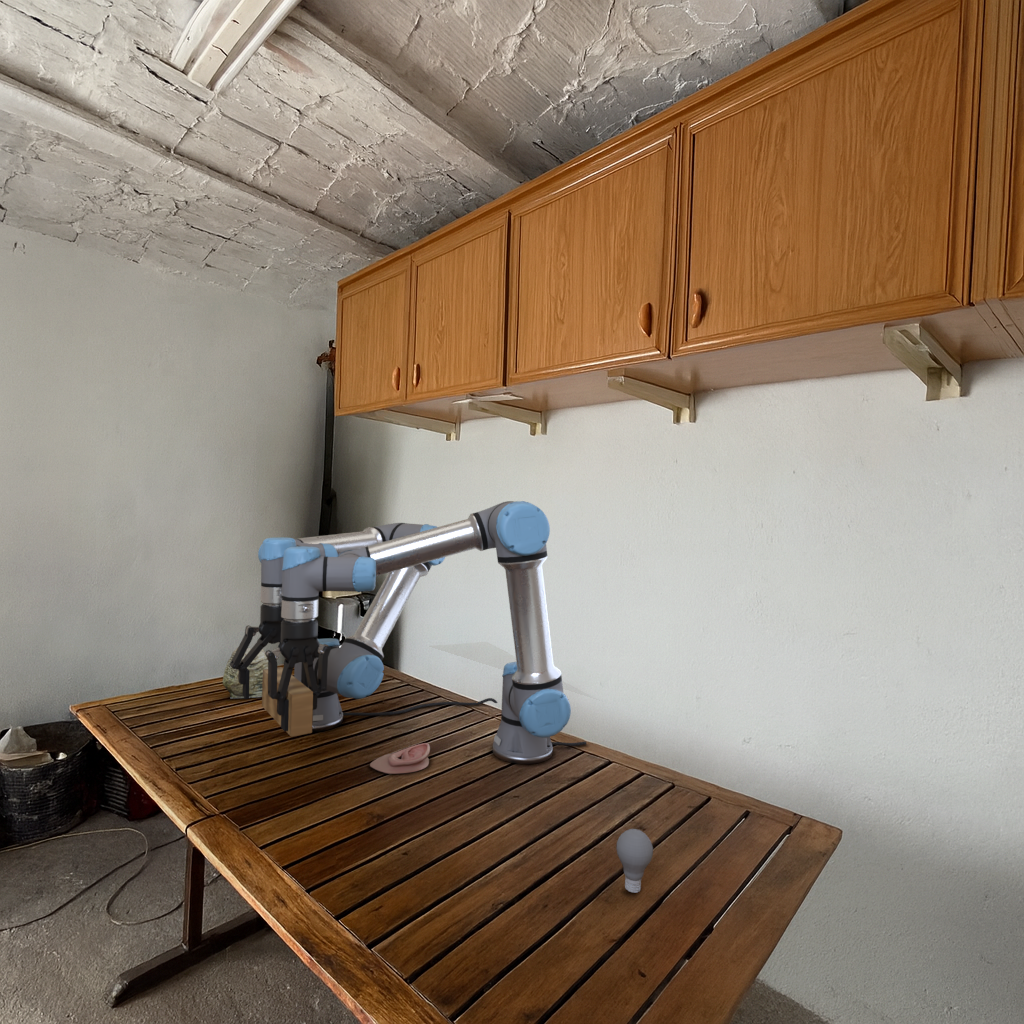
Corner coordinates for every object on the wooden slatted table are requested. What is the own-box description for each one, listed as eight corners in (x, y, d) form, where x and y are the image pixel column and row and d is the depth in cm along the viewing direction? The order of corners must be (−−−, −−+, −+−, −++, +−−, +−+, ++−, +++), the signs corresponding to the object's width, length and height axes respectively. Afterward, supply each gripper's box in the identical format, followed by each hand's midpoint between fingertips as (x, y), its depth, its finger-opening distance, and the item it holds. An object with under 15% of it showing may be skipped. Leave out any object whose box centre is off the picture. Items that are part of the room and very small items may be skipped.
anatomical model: (364, 753, 147) (384, 735, 158) (364, 770, 147) (383, 751, 158) (419, 760, 144) (435, 742, 155) (418, 778, 144) (434, 758, 156)
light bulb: (610, 879, 108) (613, 822, 108) (644, 879, 109) (647, 822, 109) (619, 902, 102) (622, 840, 102) (655, 901, 103) (658, 840, 103)
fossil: (218, 695, 195) (220, 647, 195) (278, 685, 208) (279, 640, 207) (228, 703, 189) (230, 653, 188) (289, 692, 201) (290, 645, 201)
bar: (261, 706, 150) (262, 669, 150) (280, 703, 153) (281, 666, 153) (290, 736, 132) (292, 695, 132) (312, 732, 135) (313, 691, 135)
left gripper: (224, 610, 139) (223, 706, 139) (334, 601, 154) (332, 687, 155) (216, 605, 145) (215, 696, 145) (323, 596, 160) (321, 679, 160)
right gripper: (262, 625, 127) (258, 740, 128) (345, 618, 138) (342, 724, 138) (252, 619, 133) (249, 729, 134) (333, 612, 144) (330, 714, 144)
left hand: (275, 692), depth 150 cm, fingers open, 13 cm apart
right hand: (296, 726), depth 136 cm, fingers closed on bar, 4 cm apart
